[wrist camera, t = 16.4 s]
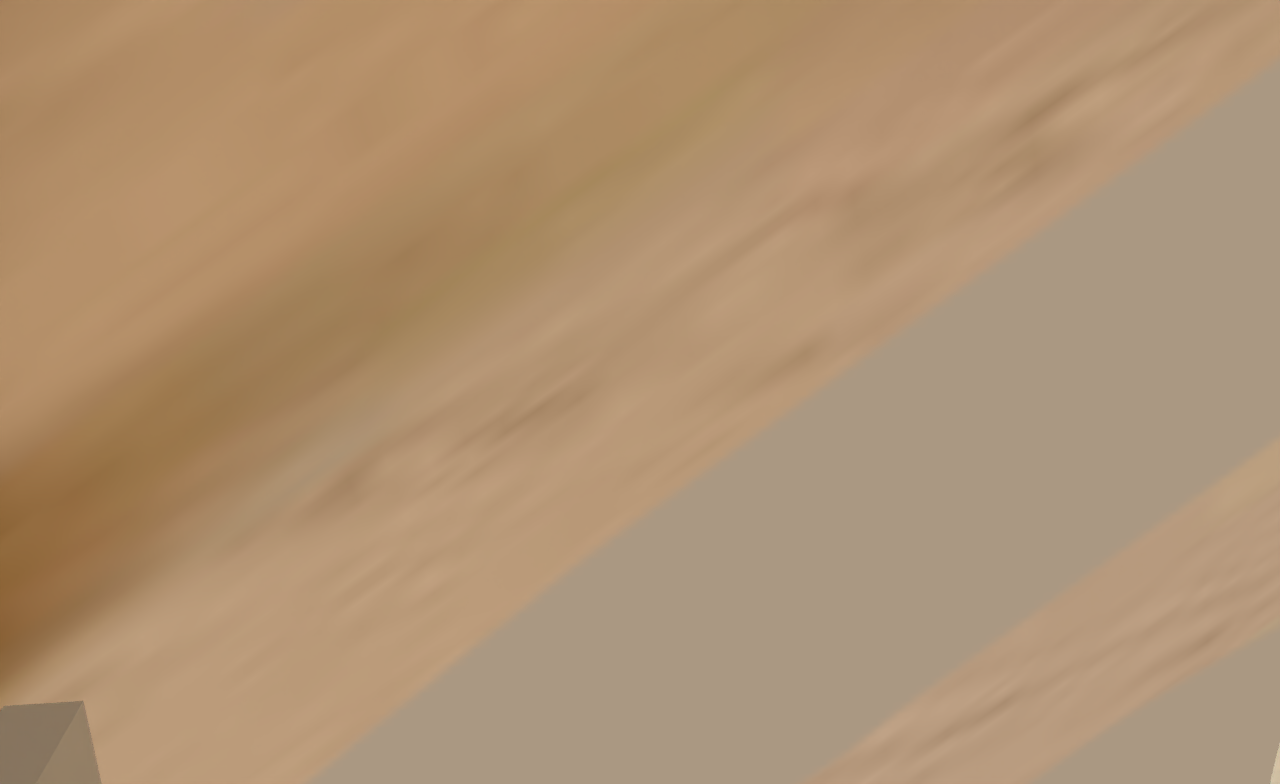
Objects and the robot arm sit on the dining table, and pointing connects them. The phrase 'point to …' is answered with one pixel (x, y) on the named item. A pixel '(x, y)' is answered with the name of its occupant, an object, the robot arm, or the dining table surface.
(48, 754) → the robot arm
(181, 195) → the dining table surface
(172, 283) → the dining table surface
